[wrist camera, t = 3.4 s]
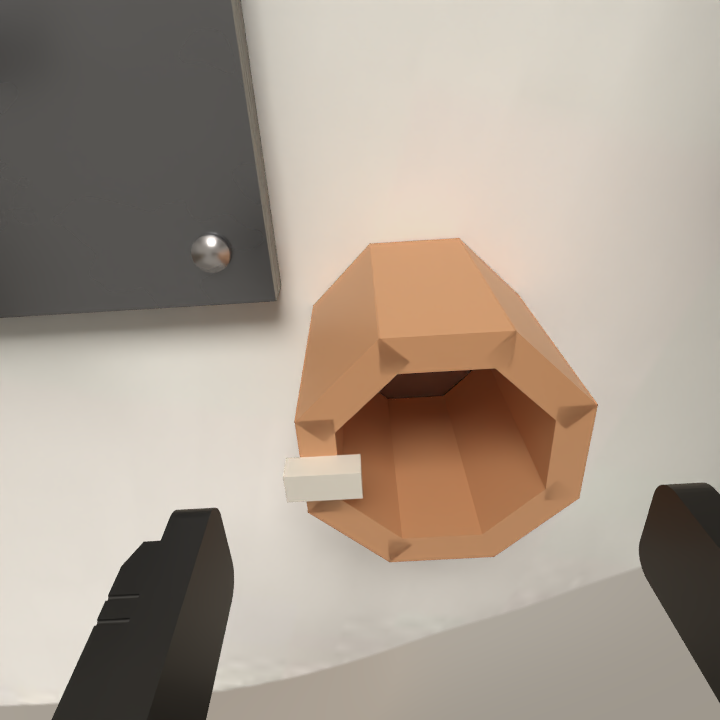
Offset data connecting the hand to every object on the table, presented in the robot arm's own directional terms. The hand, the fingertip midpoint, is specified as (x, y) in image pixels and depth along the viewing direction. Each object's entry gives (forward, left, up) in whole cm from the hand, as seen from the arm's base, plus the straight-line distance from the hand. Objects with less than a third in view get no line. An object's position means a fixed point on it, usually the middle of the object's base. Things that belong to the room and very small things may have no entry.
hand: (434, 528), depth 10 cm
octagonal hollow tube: (0, 0, -8) cm, 8 cm away
